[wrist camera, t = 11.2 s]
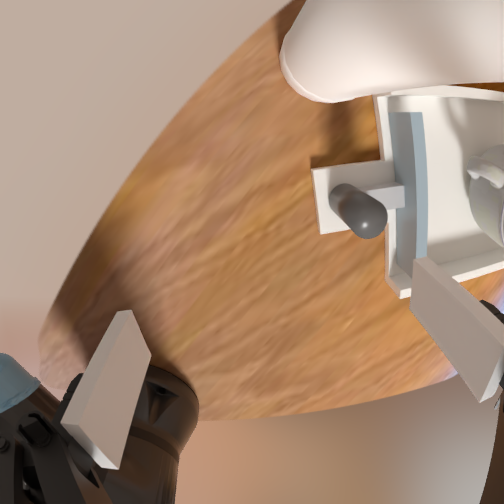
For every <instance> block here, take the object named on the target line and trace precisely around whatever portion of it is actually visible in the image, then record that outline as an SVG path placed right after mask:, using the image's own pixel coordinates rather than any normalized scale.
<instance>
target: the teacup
mask: <svg viewBox="0 0 504 504" xmlns="http://www.w3.org/2000/svg"><path fill="white" fill-rule="evenodd" d="M467 172H468V173H469V174H470V176H471V181H470V186H469V204H470V209H471V212H472V215H473V218H474V220H475V222H476V223H477V225H478V226H479V227H480V229H481V230H482V231H483V232H484V233H486V234H487V235H488V236H489V237H490V238H491V239H493V240H494V241H495V242H496V243H498V244H499V245H500V246H502V247H503V248H504V144H502V145H497V146H494V147H492V148H490V149H489V150H487V151H486V152H485V153H484V154H483V155H482V156H481V157H479V156H472V157H470V159H469V161H468V164H467Z"/></svg>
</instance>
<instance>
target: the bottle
mask: <svg viewBox="0 0 504 504" xmlns="http://www.w3.org/2000/svg"><path fill="white" fill-rule="evenodd" d="M279 60H280V68H281V72H282V73H283V75H284V77H285V79H286V81H287V83H288V84H289V85H290V86H291V87H292V88H293V89H294V90H295V91H296V92H297V93H298V94H300V95H302V96H304V97H306V98H308V99H310V100H312V101H317V102H324V103H336V102H342V101H347V100H352V99H354V98H356V97H362V96H367V95H373V94H379V93H385V92H391V91H398V90H405V89H413V88H421V87H430V86H440V85H452V84H466V83H489V82H504V0H306V2H305V4H304V5H303V7H302V9H301V11H300V12H299V14H298V16H297V18H296V20H295V21H294V23H293V25H292V27H291V29H290V30H289V31H288V32H287V34H286V35H285V37H284V40H283V44H282V47H281V51H280V54H279Z"/></svg>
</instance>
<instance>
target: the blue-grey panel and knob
mask: <svg viewBox="0 0 504 504" xmlns="http://www.w3.org/2000/svg"><path fill="white" fill-rule="evenodd" d="M389 121H390V129H391V137H392V147H393V157H394V169H395V183H387V184H380V185H372V186H365V187H358V188H356V187H354V186H353V185H351V184H347V183H343V184H339V185H337V186H336V187H334V188H333V190H332V191H331V193H330V195H329V206H330V208H331V210H332V211H333V212H334V213H335V214H336V215H337V216H338V217H339V218H340V219H341V220H342V221H343V222H344V223H345V224H346V225H347V226H348V227H349V228H350V229H351V230H352V231H353V232H354V233H355V234H356V235H357V236H359V237H361V238H364V239H371V238H374V237H376V236H378V235H379V234H380V233H381V232H382V231H383V230H384V228H385V227H386V224H387V220H388V214H387V210H390V209H396V208H397V264H398V265H399V266H400V267H401V268H402V269H403V270H404V271H405V272H406V273H407V274H408V276H409V277H410V278H411V279H412V274H413V259H417V258H422V257H426V256H427V238H428V177H427V158H426V144H425V133H424V124H423V115H422V112H392V113H389Z"/></svg>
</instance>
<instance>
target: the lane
mask: <svg viewBox="0 0 504 504" xmlns="http://www.w3.org/2000/svg"><path fill="white" fill-rule="evenodd" d="M372 97H373V103H374V110H375V117H376V124H377V132H378V140H379V149H380V159H381V160H374V161H365V162H357V163H349V164H341V165H333V166H326V167H319V168H312V169H311V176H312V184H313V191H314V199H315V207H316V215H317V224H318V231H319V233H320V234H326V233H331V232H337V231H343V230H348V229H350V228H349V227H348V226H347V225H346V224H345V223H344V222H343V221H342V220H341V219H340V218H339V217H338V216H337V215H336V214H335V213H334V212H333V211H332V210H331V208H330V206H329V195H330V193H331V191H332V190H333V188H334V187H336V186H337V185H339V184H343V183H347V184H351V185H353V186H354V187H356V188H358V187H365V186H372V185H380V184H387V183H395V169H394V157H393V147H392V137H391V129H390V121H389V113H392V112H422V115H423V124H424V133H425V144H426V158H427V177H428V238H427V257H428V258H429V259H431V260H432V261H433V262H434V263H436V264H437V265H438V266H439V267H440V268H442V269H443V270H444V271H445V272H446V273H448V274H449V275H450V276H451V277H452V278H453V279H455V280H456V281H457V282H458V283H459V282H462V281H466V280H469V279H472V278H475V277H478V276H482V275H485V274H488V273H491V272H494V271H497V270H500V269H503V268H504V248H503V247H502V246H500V245H499V244H498V243H496V242H495V241H494V240H493V239H491V238H490V237H489V236H488V235H487V234H486V233H484V232H483V231H482V230H481V229H480V227H479V226H478V225H477V223H476V222H475V220H474V218H473V215H472V212H471V209H470V204H469V186H470V181H471V176H470V174H469V173H468V172H467V164H468V161H469V159H470V157H472V156H479V157H481V156H482V155H483V154H484V153H485V152H486V151H487V150H489V149H490V148H492V147H494V146H497V145H502V144H504V92H498V91H492V90H485V89H477V88H469V87H459V86H448V85H440V86H430V87H421V88H413V89H405V90H398V91H391V92H385V93H379V94H373V95H372ZM387 214H388V220H387V224H386V227H385V281H386V283H387V284H388V285H389V286H390V287H391V289H392V290H393V291H394V292H395V294H396V295H397V296H398V297H399V299H402V298H406V297H410V296H411V287H412V279H411V278H410V277H409V276H408V274H407V273H406V272H405V271H404V270H403V269H402V268H401V267H400V266H399V265H398V264H397V208H396V209H390V210H387Z"/></svg>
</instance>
